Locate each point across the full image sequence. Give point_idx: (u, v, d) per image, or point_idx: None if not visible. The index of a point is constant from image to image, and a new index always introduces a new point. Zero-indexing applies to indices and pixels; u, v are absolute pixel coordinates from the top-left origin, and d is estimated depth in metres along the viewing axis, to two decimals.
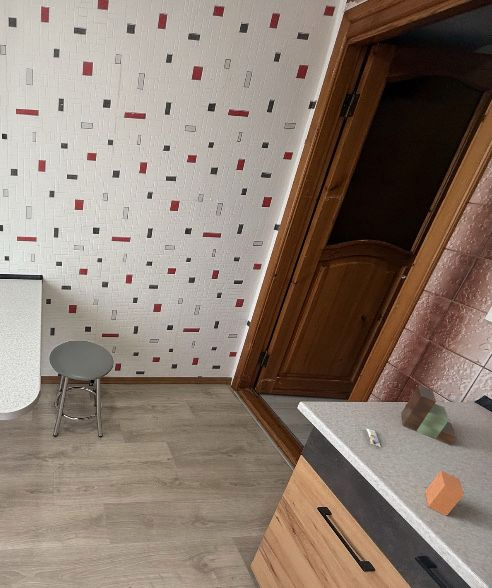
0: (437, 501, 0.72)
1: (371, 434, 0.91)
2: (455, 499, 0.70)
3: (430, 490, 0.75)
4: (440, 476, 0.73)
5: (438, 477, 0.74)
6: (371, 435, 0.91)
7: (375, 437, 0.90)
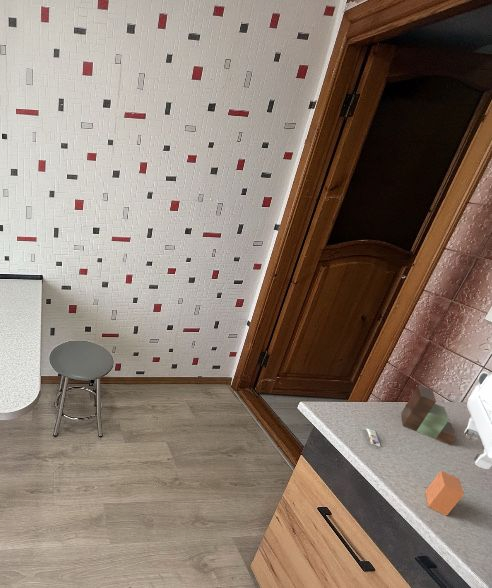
0: (437, 501, 0.72)
1: (371, 434, 0.91)
2: (455, 499, 0.70)
3: (430, 490, 0.75)
4: (440, 476, 0.73)
5: (438, 477, 0.74)
6: (371, 435, 0.91)
7: (375, 437, 0.90)
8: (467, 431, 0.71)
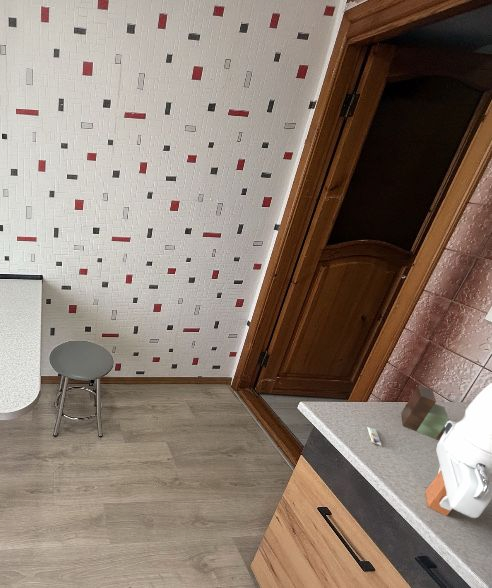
0: (437, 501, 0.72)
1: (372, 433, 0.91)
2: None
3: (430, 490, 0.75)
4: (440, 476, 0.73)
5: (438, 477, 0.74)
6: (372, 434, 0.91)
7: (376, 436, 0.90)
8: None
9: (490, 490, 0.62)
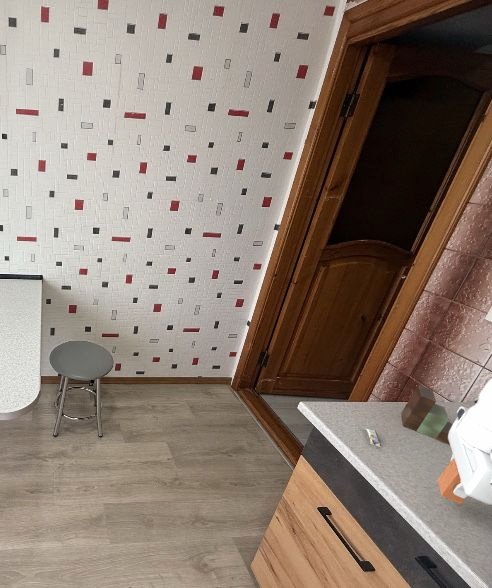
0: (451, 490, 0.70)
1: (371, 434, 0.91)
2: None
3: (443, 479, 0.73)
4: (453, 463, 0.71)
5: (451, 465, 0.72)
6: (371, 435, 0.91)
7: (375, 437, 0.90)
8: None
9: None
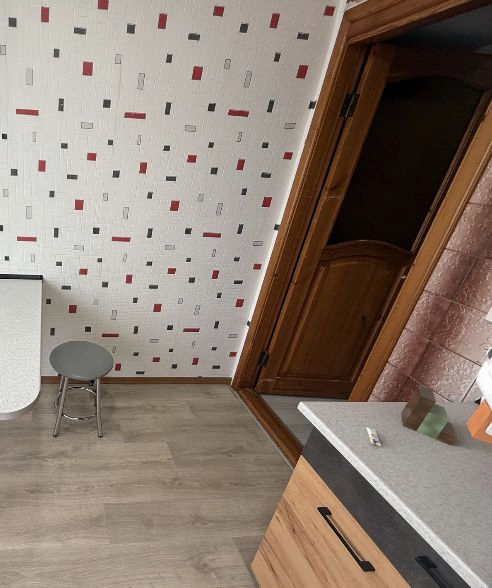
0: (483, 430, 0.68)
1: (371, 433, 0.91)
2: None
3: (473, 421, 0.71)
4: (484, 404, 0.69)
5: (482, 406, 0.69)
6: (371, 434, 0.91)
7: (375, 436, 0.90)
8: None
9: None
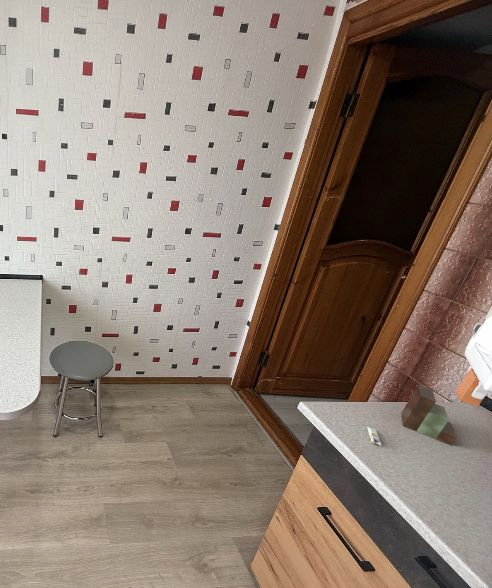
0: (469, 394, 0.78)
1: (372, 433, 0.91)
2: None
3: (461, 388, 0.81)
4: (470, 372, 0.80)
5: (469, 374, 0.80)
6: (372, 434, 0.91)
7: (376, 436, 0.90)
8: None
9: None
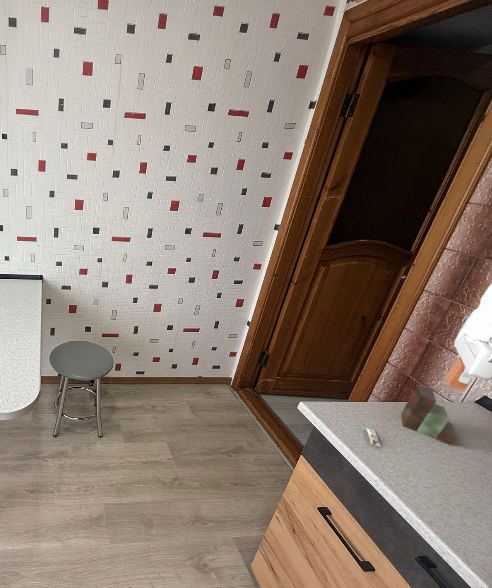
0: (456, 379, 0.87)
1: (371, 434, 0.91)
2: None
3: (449, 374, 0.90)
4: (458, 360, 0.89)
5: (456, 361, 0.89)
6: (371, 435, 0.91)
7: (375, 437, 0.90)
8: None
9: None
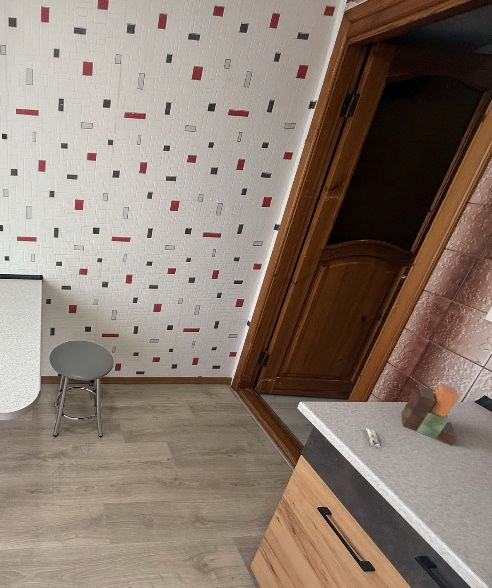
0: (438, 406, 0.91)
1: (371, 434, 0.91)
2: (452, 402, 0.89)
3: None
4: (440, 387, 0.92)
5: (438, 388, 0.93)
6: (371, 435, 0.91)
7: (375, 437, 0.90)
8: None
9: None
